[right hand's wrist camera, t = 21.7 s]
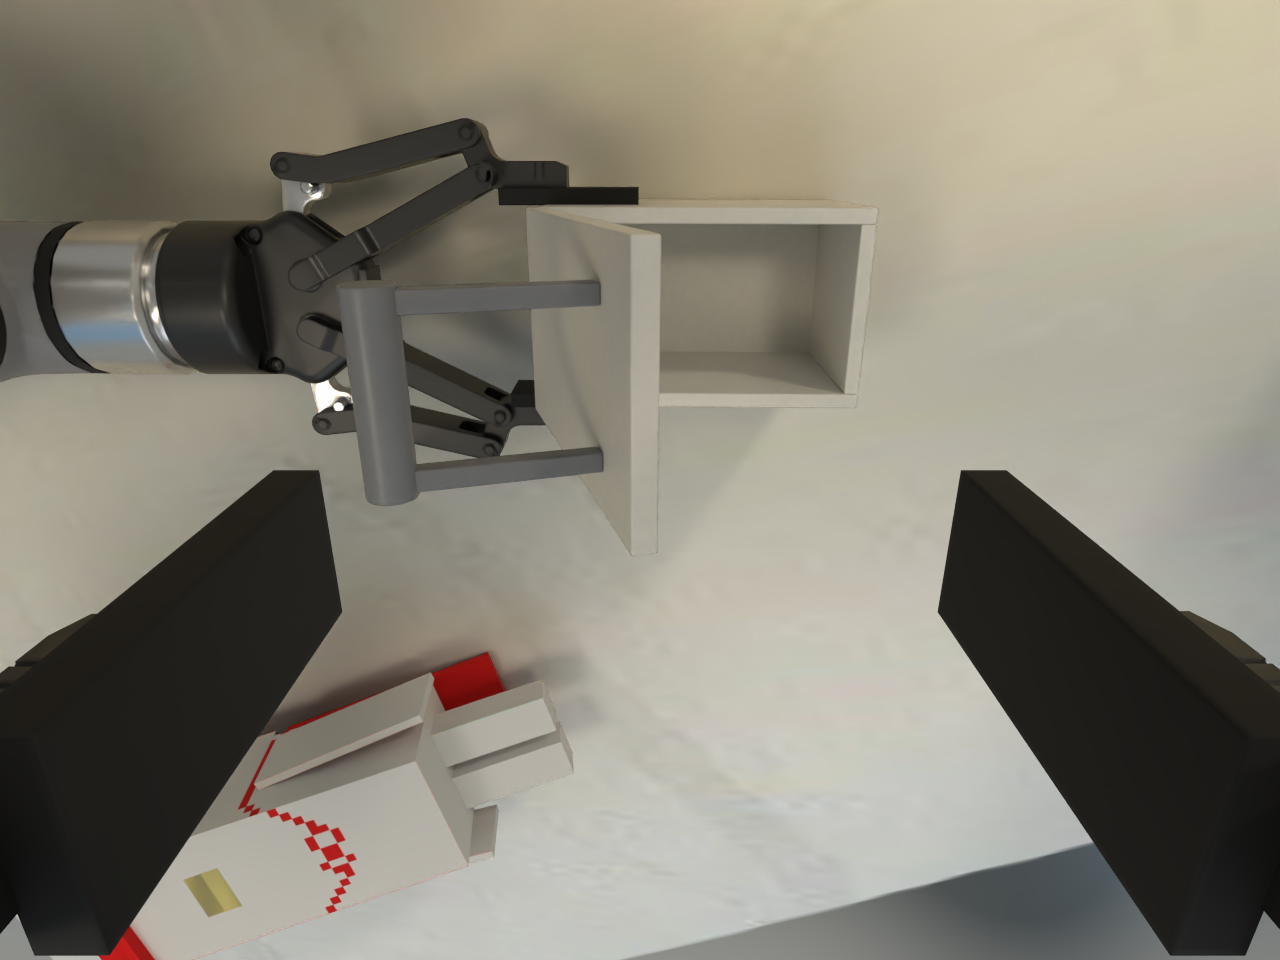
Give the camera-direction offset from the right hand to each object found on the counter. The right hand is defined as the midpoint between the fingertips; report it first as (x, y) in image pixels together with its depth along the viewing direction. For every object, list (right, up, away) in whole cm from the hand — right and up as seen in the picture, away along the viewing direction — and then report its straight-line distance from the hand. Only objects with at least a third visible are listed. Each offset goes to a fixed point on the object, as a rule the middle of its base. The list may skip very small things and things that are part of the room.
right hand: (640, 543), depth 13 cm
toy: (-20, -18, +44) cm, 51 cm away
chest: (+3, +12, +31) cm, 34 cm away
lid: (-2, +6, +15) cm, 16 cm away
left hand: (0, +10, +26) cm, 28 cm away
